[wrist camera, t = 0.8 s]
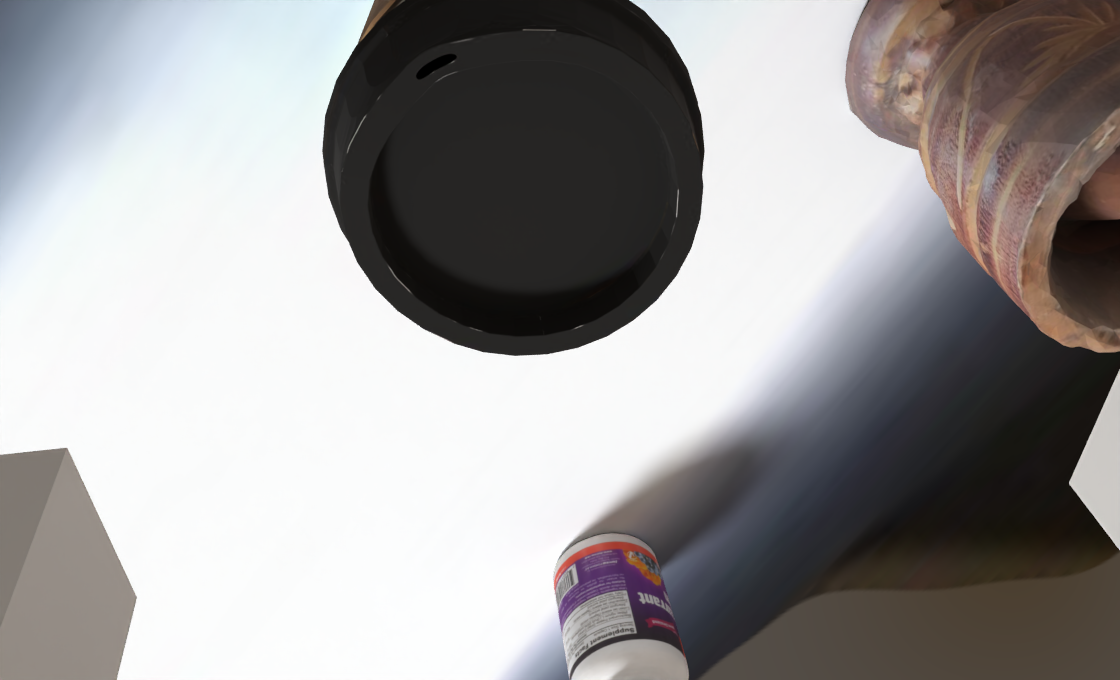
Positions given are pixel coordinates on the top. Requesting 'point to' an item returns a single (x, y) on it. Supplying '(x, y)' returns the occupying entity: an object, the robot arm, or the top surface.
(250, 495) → the top surface
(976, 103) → the mortar and pestle
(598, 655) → the pill bottle
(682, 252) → the coffee cup
